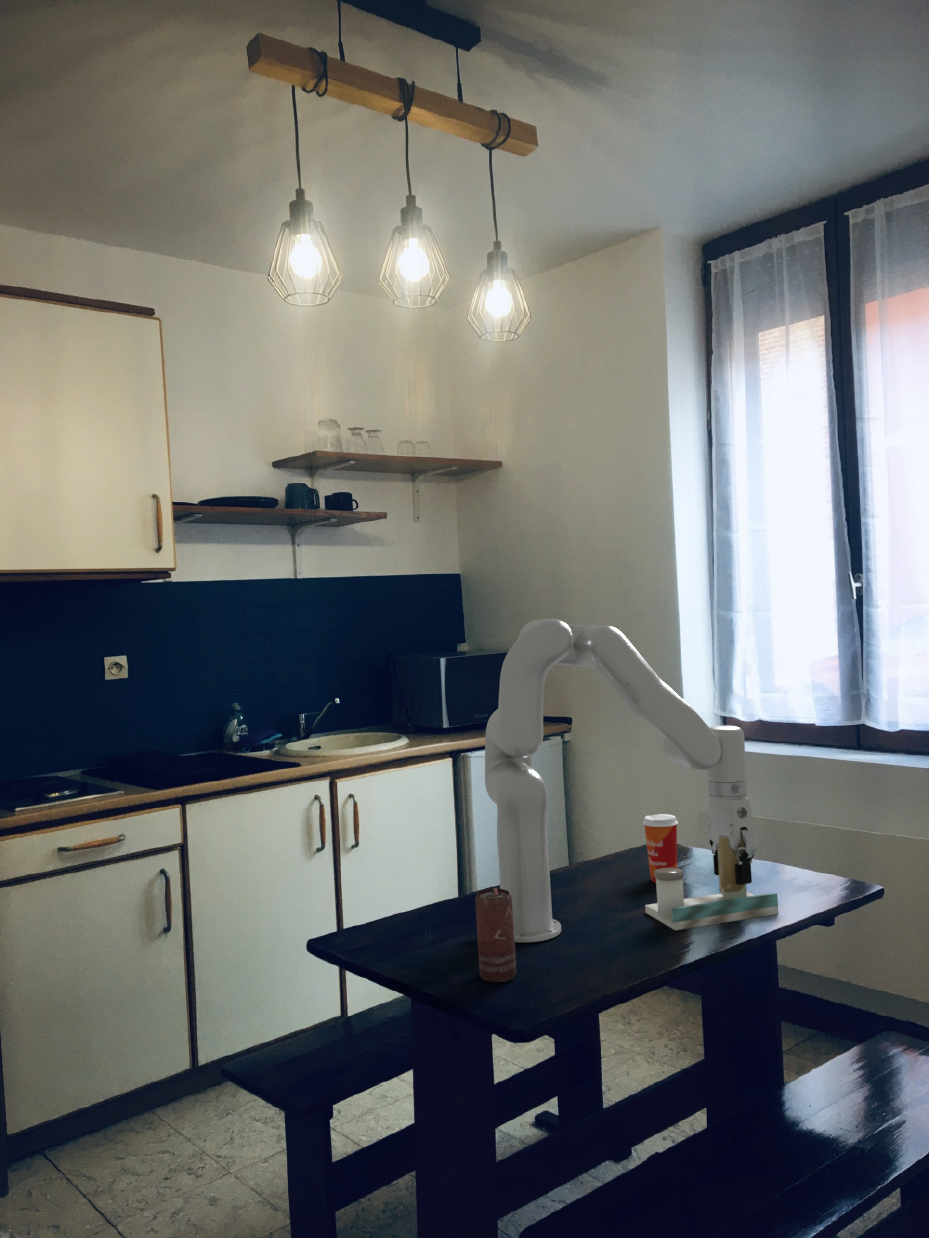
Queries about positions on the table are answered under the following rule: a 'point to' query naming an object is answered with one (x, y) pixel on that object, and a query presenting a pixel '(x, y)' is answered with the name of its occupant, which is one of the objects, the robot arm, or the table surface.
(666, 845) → the paper cup
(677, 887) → the cream jar
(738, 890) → the skincare box
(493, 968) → the can
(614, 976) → the table surface
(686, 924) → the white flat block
